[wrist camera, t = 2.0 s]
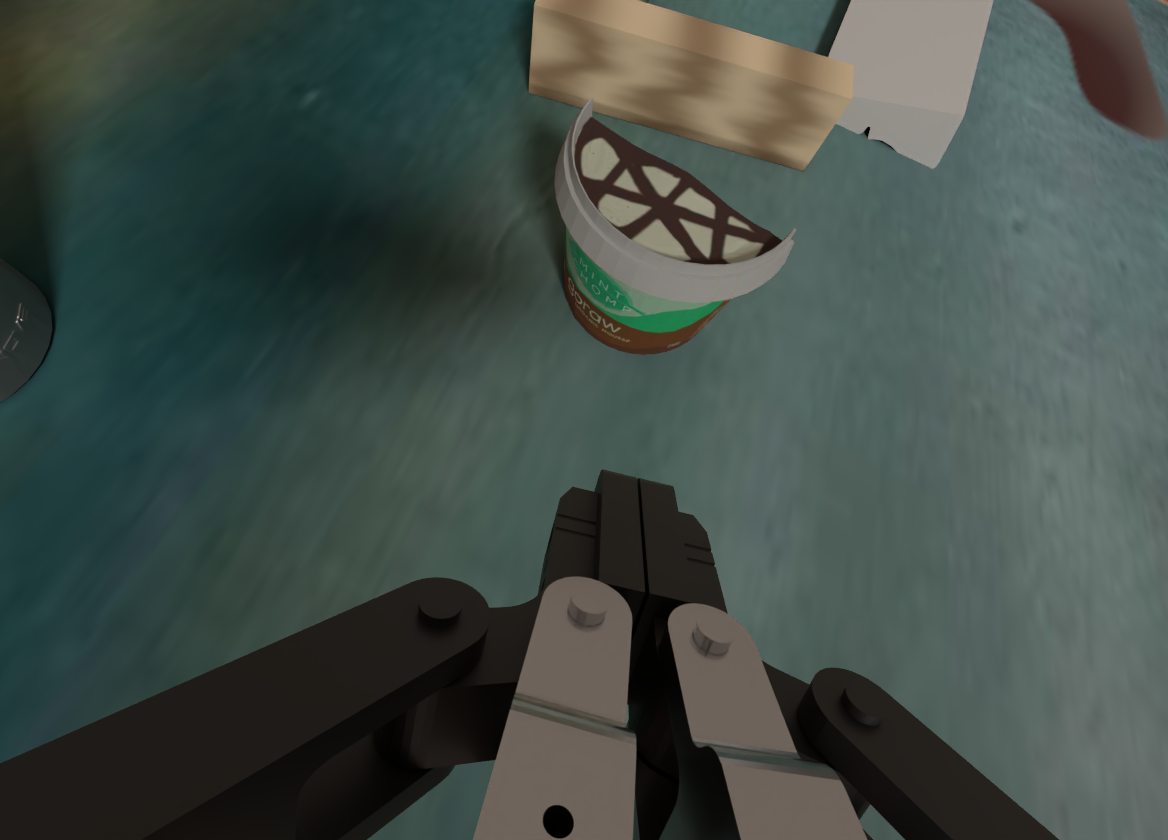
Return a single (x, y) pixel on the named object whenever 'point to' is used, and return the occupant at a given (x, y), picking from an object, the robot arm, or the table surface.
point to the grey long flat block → (911, 70)
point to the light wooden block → (688, 77)
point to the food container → (650, 243)
